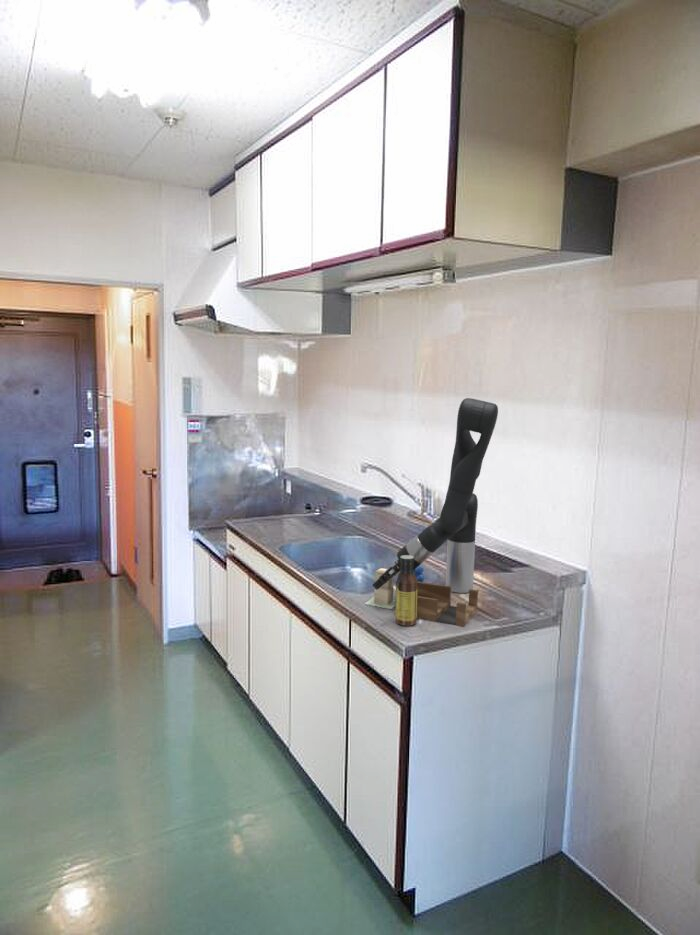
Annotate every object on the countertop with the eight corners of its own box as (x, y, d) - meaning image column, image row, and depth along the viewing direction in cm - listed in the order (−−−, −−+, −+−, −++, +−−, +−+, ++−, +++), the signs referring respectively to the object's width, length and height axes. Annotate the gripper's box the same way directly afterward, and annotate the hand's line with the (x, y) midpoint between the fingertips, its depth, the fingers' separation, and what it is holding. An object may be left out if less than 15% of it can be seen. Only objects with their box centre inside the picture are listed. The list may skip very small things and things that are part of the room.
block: (380, 598, 214) (380, 568, 213) (393, 600, 212) (393, 569, 211) (374, 602, 210) (374, 571, 208) (387, 604, 208) (388, 573, 207)
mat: (375, 596, 217) (375, 595, 217) (401, 601, 213) (401, 599, 213) (364, 604, 209) (364, 603, 209) (391, 609, 205) (391, 608, 205)
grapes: (433, 597, 218) (434, 561, 217) (416, 600, 215) (417, 563, 213) (412, 587, 228) (413, 553, 227) (396, 590, 225) (397, 555, 223)
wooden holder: (412, 600, 214) (413, 580, 213) (477, 610, 205) (478, 590, 205) (395, 614, 200) (396, 593, 199) (464, 626, 191) (465, 604, 191)
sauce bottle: (403, 617, 198) (405, 552, 195) (420, 622, 194) (423, 556, 191) (390, 623, 193) (392, 556, 190) (408, 628, 189) (410, 560, 186)
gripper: (415, 538, 212) (379, 570, 218) (399, 547, 199) (362, 581, 205) (430, 556, 210) (394, 588, 217) (415, 567, 197) (377, 600, 204)
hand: (378, 584), depth 211 cm, fingers open, 6 cm apart
